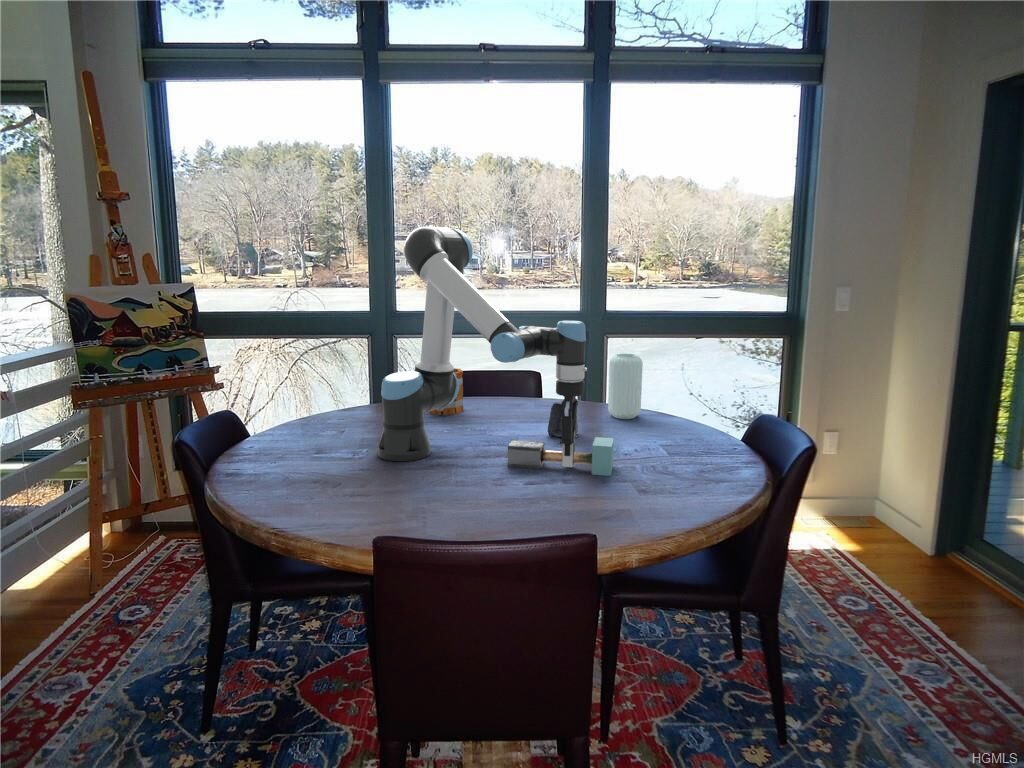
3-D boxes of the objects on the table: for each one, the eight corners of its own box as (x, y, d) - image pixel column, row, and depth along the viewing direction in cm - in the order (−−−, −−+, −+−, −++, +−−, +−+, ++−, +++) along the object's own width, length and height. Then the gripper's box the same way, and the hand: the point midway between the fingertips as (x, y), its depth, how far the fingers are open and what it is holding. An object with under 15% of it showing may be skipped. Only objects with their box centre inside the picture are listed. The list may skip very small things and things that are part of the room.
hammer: (518, 461, 178) (518, 429, 177) (521, 457, 181) (521, 426, 180) (591, 466, 174) (592, 434, 172) (593, 462, 177) (593, 430, 175)
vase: (616, 411, 241) (618, 351, 237) (645, 415, 234) (648, 354, 230) (602, 417, 232) (604, 355, 227) (631, 422, 225) (634, 358, 221)
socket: (591, 474, 172) (592, 445, 170) (594, 465, 180) (595, 437, 178) (610, 475, 171) (611, 446, 169) (612, 466, 179) (613, 438, 177)
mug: (432, 406, 249) (431, 367, 246) (467, 407, 247) (466, 368, 244) (419, 418, 230) (418, 377, 227) (457, 420, 228) (456, 377, 225)
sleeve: (507, 467, 178) (507, 445, 177) (512, 460, 184) (512, 439, 182) (540, 469, 176) (540, 448, 175) (543, 462, 182) (544, 441, 181)
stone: (568, 446, 203) (540, 433, 207) (577, 443, 212) (550, 431, 216) (582, 411, 202) (554, 398, 205) (590, 410, 211) (563, 398, 214)
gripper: (580, 386, 164) (578, 475, 169) (587, 374, 179) (585, 456, 184) (551, 384, 165) (549, 472, 170) (560, 373, 181) (559, 454, 186)
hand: (568, 464), depth 177 cm, fingers closed on hammer, 3 cm apart
